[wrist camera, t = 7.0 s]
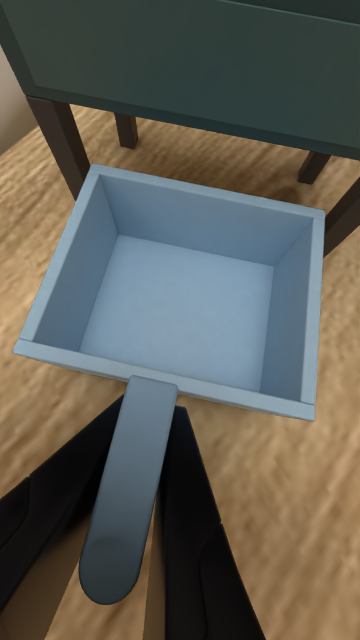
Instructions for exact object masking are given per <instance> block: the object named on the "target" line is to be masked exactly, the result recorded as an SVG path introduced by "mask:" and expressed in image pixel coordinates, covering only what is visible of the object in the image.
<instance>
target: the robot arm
mask: <svg viewBox="0 0 360 640" xmlns="http://www.w3.org/2000/svg"><path fill="white" fill-rule="evenodd" d="M123 398H124V394H123V395H122V396H121V397H119V398H118V399H117V400H116V401H115V402H114V403H112V404H111V405H110V406H109V407H108V408H107V409H105V410H104V411H103V412H102V413H101V414H100V415H98V416H97V417H96V418H95V419H94V420H93V421H92V422H90V423H89V424H88V425H87V426H86V427H85V428H83V429H82V430H81V431H80V432H79V433H78V434H76V435H75V436H74V437H73V438H72V439H71V440H69V441H68V442H67V443H66V444H65V445H64V446H62V447H61V448H60V449H59V450H58V451H57V452H55V453H54V454H53V455H52V456H51V457H50V458H48V459H47V460H46V461H45V462H44V463H43V464H41V465H40V466H39V467H38V468H37V469H36V470H34V471H33V472H32V473H31V474H30V475H29V477H26V478H25V479H24V480H23V481H21V482H20V483H19V484H18V485H17V486H16V487H14V488H13V489H12V490H11V491H10V492H8V493H7V494H6V495H5V496H4V497H2V498H1V499H0V640H44V639H45V637H46V634H47V632H48V630H49V627H50V625H51V623H52V620H53V618H54V616H55V614H56V611H57V609H58V607H59V604H60V602H61V600H62V597H63V595H64V593H65V590H66V588H67V586H68V583H69V581H70V579H71V576H72V574H73V572H74V569H75V567H76V565H77V562H78V560H79V558H80V555H81V553H82V549H83V545H84V541H85V538H86V534H87V530H88V527H89V523H90V519H91V516H92V512H93V508H94V505H95V501H96V497H97V494H98V490H99V486H100V483H101V479H102V475H103V472H104V468H105V464H106V461H107V457H108V453H109V450H110V446H111V442H112V439H113V435H114V431H115V428H116V424H117V420H118V416H119V413H120V409H121V405H122V402H123ZM220 523H221V518H220V514H219V511H218V508H217V505H216V502H215V499H214V495H213V492H212V489H211V486H210V483H209V479H208V476H207V473H206V470H205V467H204V464H203V460H202V457H201V454H200V451H199V448H198V445H197V441H196V438H195V435H194V432H193V429H192V425H191V422H190V419H189V416H188V413H187V410H186V408H185V407H181V406H177V405H175V408H174V413H173V418H172V422H171V427H170V432H169V436H168V441H167V446H166V451H165V455H164V460H163V465H162V470H161V474H160V479H159V484H158V489H157V494H156V504H155V515H154V525H153V536H152V547H151V557H150V568H149V578H148V589H147V600H146V610H145V621H144V631H143V640H266V638H265V636H264V633H263V631H262V629H261V626H260V624H259V621H258V619H257V617H256V614H255V612H254V609H253V607H252V605H251V602H250V600H249V597H248V594H247V592H246V589H245V587H244V584H243V582H242V579H241V577H240V574H239V571H238V569H237V566H236V563H235V560H234V557H233V554H232V551H231V548H230V545H229V543H228V539H227V536H226V533H225V530H224V527H223V524H220Z"/></svg>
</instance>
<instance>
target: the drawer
mask: <svg viewBox="0 0 360 640" xmlns="http://www.w3.org/2000/svg"><path fill="white" fill-rule="evenodd" d="M324 227H325V210H322V209H317V208H312V207H307V206H302V205H297V204H292V203H287V202H282V201H277V200H272V199H267V198H262V197H257V196H252V195H247V194H243V193H238V192H233V191H228V190H223V189H218V188H213V187H208V186H203V185H198V184H193V183H188V182H183V181H178V180H173V179H168V178H164V177H159V176H154V175H149V174H144V173H139V172H134V171H129V170H124V169H119V168H114V167H109V166H104V165H99V164H94V163H92V165H91V167H90V170H89V172H88V174H87V177H86V179H85V181H84V184H83V186H82V188H81V191H80V193H79V196H78V198H77V200H76V203H75V205H74V207H73V210H72V212H71V215H70V217H69V219H68V222H67V224H66V226H65V229H64V231H63V233H62V236H61V238H60V241H59V243H58V245H57V248H56V250H55V252H54V255H53V257H52V260H51V262H50V264H49V267H48V269H47V271H46V274H45V276H44V279H43V281H42V283H41V286H40V288H39V290H38V293H37V295H36V297H35V300H34V302H33V305H32V307H31V309H30V312H29V314H28V316H27V319H26V321H25V324H24V326H23V328H22V331H21V333H20V335H19V339H18V340H17V342H16V345H15V347H14V350H13V353H14V354H17V355H21V356H24V357H27V358H31V359H34V360H38V361H41V362H45V363H48V364H52V365H55V366H59V367H62V368H66V369H70V370H74V371H79V372H83V373H87V374H92V375H96V376H101V377H105V378H110V379H114V380H118V381H123V382H127V387H126V391H125V394H124V398H123V402H122V405H121V409H120V413H119V416H118V420H117V424H116V428H115V431H114V435H113V439H112V442H111V446H110V450H109V453H108V457H107V461H106V464H105V468H104V472H103V475H102V479H101V483H100V486H99V490H98V494H97V497H96V501H95V505H94V508H93V512H92V516H91V519H90V523H89V527H88V530H87V534H86V538H85V541H84V545H83V549H82V553H81V556H80V560H79V580H80V584H81V587H82V589H83V591H84V593H85V594H86V595H87V597H88V598H89V599H91V600H92V601H93V602H95V603H98V604H101V605H111V604H115V603H117V602H119V601H121V600H122V599H124V598H125V597H126V596H127V595H128V594H129V593H130V592H131V591H132V589H133V588H134V586H135V584H136V582H137V580H138V577H139V573H140V568H141V564H142V560H143V555H144V550H145V545H146V541H147V536H148V531H149V526H150V522H151V517H152V512H153V507H154V503H155V498H156V493H157V489H158V484H159V479H160V474H161V470H162V465H163V460H164V455H165V451H166V446H167V441H168V436H169V432H170V427H171V422H172V418H173V413H174V408H175V403H176V399H177V394H180V395H184V396H189V397H193V398H198V399H202V400H206V401H211V402H215V403H220V404H224V405H228V406H233V407H237V408H242V409H246V410H250V411H255V412H259V413H264V414H270V415H276V416H283V417H289V418H295V419H301V420H308V421H314V420H315V406H314V405H315V402H316V382H317V363H318V343H319V324H320V305H321V285H322V266H323V246H324Z"/></svg>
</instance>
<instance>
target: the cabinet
mask: <svg viewBox="0 0 360 640" xmlns="http://www.w3.org/2000/svg"><path fill="white" fill-rule="evenodd" d="M0 45H1V47H2V49H3V51H4V53H5V55H6V57H7V60H8V62H9V64H10V66H11V68H12V70H13V72H14V74H15V76H16V78H17V80H18V82H19V85H20V87H21V89H22V91H23V93H24V94H25V95H26V99H27V101H28V103H29V106H30V108H31V110H32V112H33V114H34V116H35V118H36V120H37V122H38V124H39V126H40V128H41V131H42V133H43V135H44V137H45V139H46V141H47V143H48V145H49V147H50V149H51V151H52V153H53V156H54V158H55V160H56V162H57V164H58V166H59V168H60V170H61V172H62V174H63V176H64V178H65V181H66V183H67V185H68V187H69V189H70V191H71V193H72V195H73V197H74V199H75V201H76V200H77V198H78V196H79V193H80V191H81V188H82V186H83V184H84V181H85V179H86V177H87V174H88V172H89V170H90V167H91V166H90V163H89V161H88V158H87V155H86V152H85V149H84V146H83V143H82V140H81V137H80V134H79V131H78V128H77V126H76V123H75V120H74V117H73V114H72V111H71V108H70V105H69V104H74V105H79V106H84V107H89V108H95V109H100V110H105V111H110V112H114V115H115V120H116V125H117V130H118V135H119V140H120V145H121V146H123V147H128V148H133V149H134V148H135V146H136V143H137V140H138V134H137V126H136V118H135V117H140V118H146V119H151V120H156V121H161V122H166V123H171V124H176V125H181V126H186V127H191V128H197V129H202V130H207V131H212V132H217V133H222V134H227V135H232V136H237V137H242V138H247V139H253V140H258V141H263V142H268V143H273V144H278V145H283V146H288V147H293V148H298V149H304V150H309V151H310V152H309V154H308V156H307V158H306V159H305V161H304V163H303V165H302V167H301V168H300V170H299V179H298V181H299V182H304V183H309V184H313V183H314V181H315V179H316V178H317V176H318V175H319V173H320V172H321V170H322V169H323V167H324V166H325V164H326V163H327V161H328V160H329V158H330V157H331V155H334V156H339V157H344V158H349V159H355V160H360V0H0ZM359 225H360V177H359V178H358V179H357V181H356V182H355V183H354V184H353V185H352V186H351V188H350V189H349V190H348V191H347V192H346V193H345V195H344V196H343V197H342V198H341V199H340V200H339V202H338V203H337V204H336V205H335V206H334V207H333V209H332V210H331V211H330V212H329V213H328V214H327V216H326V217H325V227H324V246H323V258H324V257H325V256H326V255H328V254H329V253H330V252H331V251H332V250H333V249H334V248H335V247H336V246H337V245H338V244H340V243H341V242H342V241H343V240H344V239H345V238H346V237H347V236H348V235H349V234H350V233H352V232H353V231H354V230H355V229H356V228H357V227H358V226H359Z"/></svg>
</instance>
